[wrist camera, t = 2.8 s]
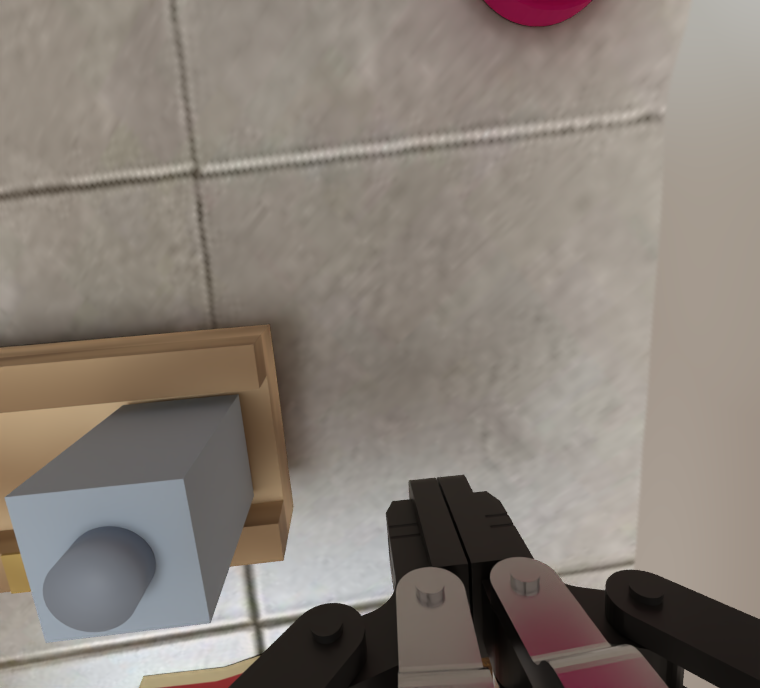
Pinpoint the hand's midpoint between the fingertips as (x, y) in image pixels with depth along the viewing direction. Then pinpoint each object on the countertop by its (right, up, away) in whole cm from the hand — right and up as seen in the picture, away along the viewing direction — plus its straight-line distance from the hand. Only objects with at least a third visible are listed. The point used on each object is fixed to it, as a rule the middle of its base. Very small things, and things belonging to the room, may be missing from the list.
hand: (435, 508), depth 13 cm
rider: (-8, +1, +4) cm, 9 cm away
